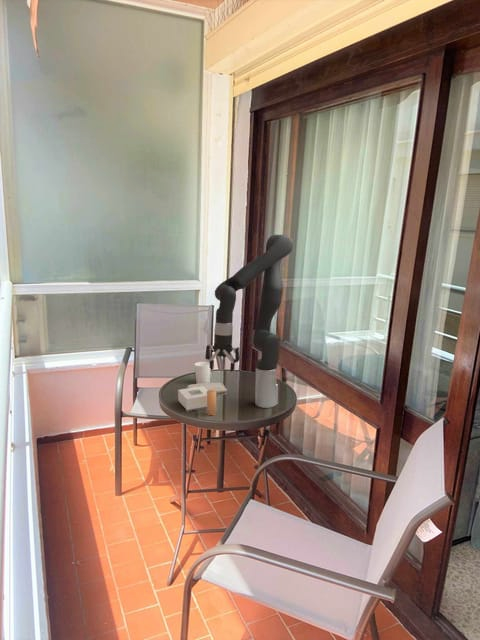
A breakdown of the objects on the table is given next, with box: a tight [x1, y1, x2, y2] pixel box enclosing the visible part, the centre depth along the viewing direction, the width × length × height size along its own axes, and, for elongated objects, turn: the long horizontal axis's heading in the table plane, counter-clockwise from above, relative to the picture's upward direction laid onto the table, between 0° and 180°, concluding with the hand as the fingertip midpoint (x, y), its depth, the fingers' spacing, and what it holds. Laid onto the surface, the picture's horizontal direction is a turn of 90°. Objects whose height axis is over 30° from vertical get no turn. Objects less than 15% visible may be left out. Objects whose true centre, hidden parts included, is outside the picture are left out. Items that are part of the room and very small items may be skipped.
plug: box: [206, 390, 217, 416], centre depth 205 cm, size 4×4×10 cm
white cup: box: [194, 361, 212, 384], centre depth 242 cm, size 8×8×10 cm
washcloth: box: [186, 381, 228, 396], centre depth 232 cm, size 12×18×3 cm, turn 107°
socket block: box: [177, 386, 208, 412], centre depth 215 cm, size 12×12×6 cm
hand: (221, 370), depth 205 cm, fingers open, 8 cm apart
